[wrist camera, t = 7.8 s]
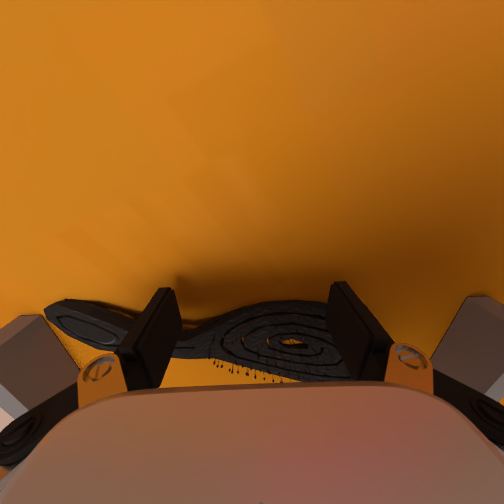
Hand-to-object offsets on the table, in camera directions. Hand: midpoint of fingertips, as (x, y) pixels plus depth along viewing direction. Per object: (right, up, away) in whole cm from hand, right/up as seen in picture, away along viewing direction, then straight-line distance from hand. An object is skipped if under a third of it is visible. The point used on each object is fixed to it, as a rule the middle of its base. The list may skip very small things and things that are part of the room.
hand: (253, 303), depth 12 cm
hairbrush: (-2, -3, +4) cm, 5 cm away
